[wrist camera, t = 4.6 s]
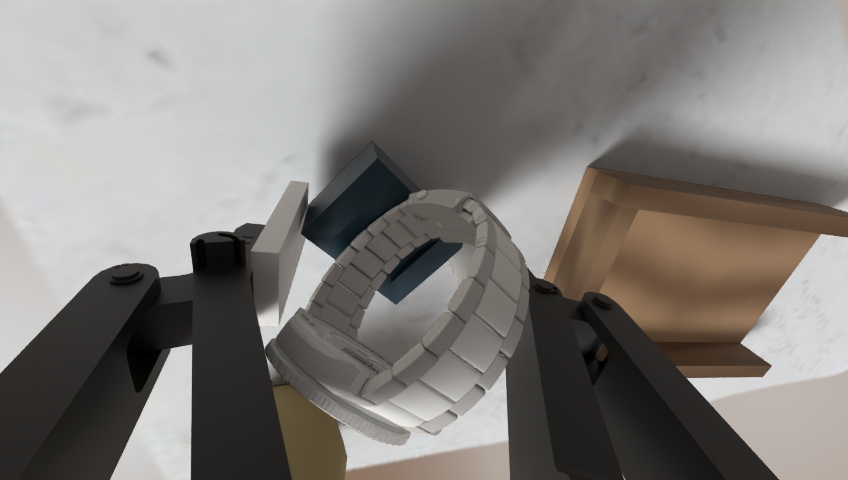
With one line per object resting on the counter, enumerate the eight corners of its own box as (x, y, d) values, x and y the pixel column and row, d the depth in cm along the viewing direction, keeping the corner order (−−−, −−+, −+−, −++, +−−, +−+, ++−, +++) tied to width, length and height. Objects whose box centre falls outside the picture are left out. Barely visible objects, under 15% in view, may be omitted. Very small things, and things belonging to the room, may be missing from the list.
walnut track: (587, 166, 20) (629, 184, 17) (821, 204, 25) (888, 224, 22) (519, 342, 25) (541, 379, 22) (721, 345, 30) (763, 377, 27)
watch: (281, 231, 17) (191, 465, 7) (400, 112, 15) (490, 203, 6) (365, 292, 19) (382, 522, 10) (473, 195, 18) (621, 355, 8)
